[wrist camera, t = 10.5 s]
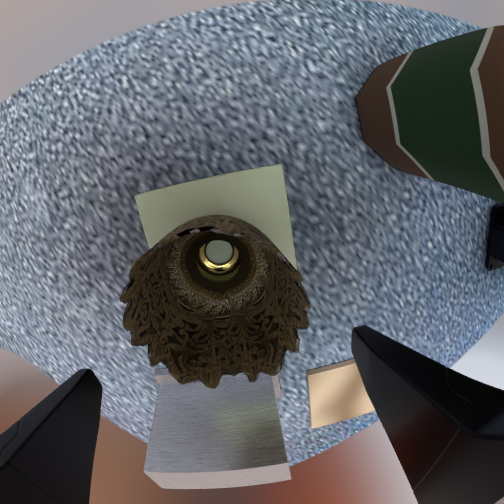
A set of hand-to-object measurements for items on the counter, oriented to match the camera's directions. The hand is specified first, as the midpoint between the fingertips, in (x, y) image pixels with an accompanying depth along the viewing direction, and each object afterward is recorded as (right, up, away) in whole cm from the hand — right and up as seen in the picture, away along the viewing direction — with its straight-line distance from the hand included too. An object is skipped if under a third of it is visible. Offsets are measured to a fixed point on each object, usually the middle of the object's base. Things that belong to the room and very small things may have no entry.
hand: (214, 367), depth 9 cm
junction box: (-2, -8, +14) cm, 16 cm away
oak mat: (+11, -10, +16) cm, 22 cm away
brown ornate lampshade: (-1, +4, +10) cm, 10 cm away
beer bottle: (+11, +13, +8) cm, 19 cm away
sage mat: (-1, +4, +10) cm, 11 cm away
